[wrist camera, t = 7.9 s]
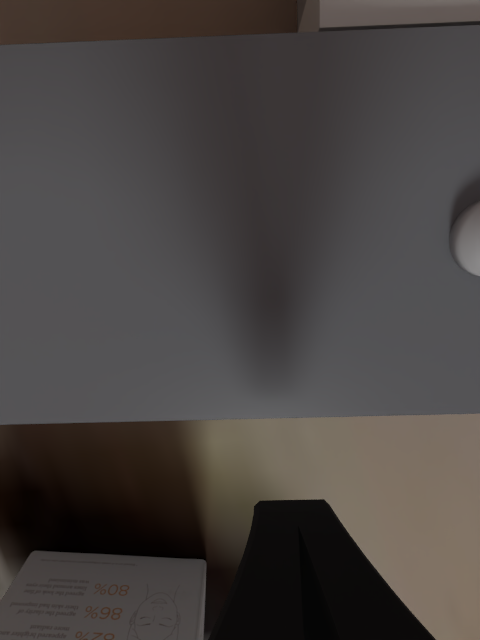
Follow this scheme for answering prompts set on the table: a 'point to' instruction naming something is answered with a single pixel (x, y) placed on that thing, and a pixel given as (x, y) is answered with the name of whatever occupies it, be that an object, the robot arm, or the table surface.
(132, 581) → the small box
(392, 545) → the table surface
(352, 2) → the camera door
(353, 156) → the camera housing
